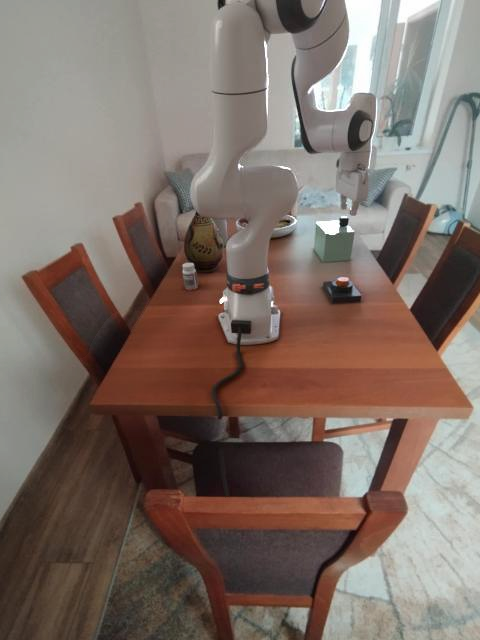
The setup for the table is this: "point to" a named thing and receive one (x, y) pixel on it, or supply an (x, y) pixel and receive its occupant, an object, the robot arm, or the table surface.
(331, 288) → the black button base
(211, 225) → the ceramic jug
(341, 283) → the button
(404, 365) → the table surface
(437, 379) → the table surface
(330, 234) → the pale green box
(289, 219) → the bowl
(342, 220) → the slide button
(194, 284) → the pill bottle
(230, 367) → the table surface
